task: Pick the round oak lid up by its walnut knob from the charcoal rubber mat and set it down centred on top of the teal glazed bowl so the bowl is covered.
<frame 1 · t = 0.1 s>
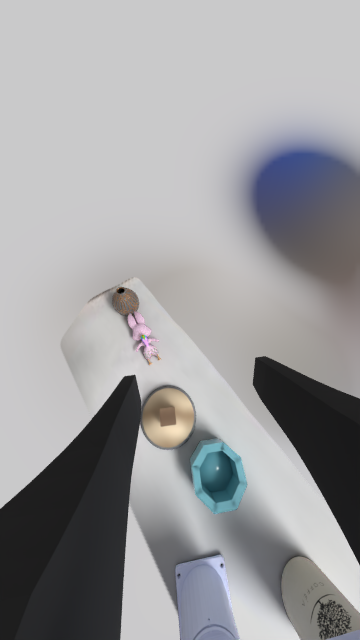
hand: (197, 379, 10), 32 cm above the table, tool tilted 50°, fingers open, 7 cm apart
vase: (129, 309, 49), on the table
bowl: (213, 467, 33), on the table
rabbit figure: (144, 339, 45), on the table
mat: (168, 415, 37), on the table
travel mug: (304, 592, 26), on the table
lid: (168, 415, 36), point 1 cm above the table, touching mat
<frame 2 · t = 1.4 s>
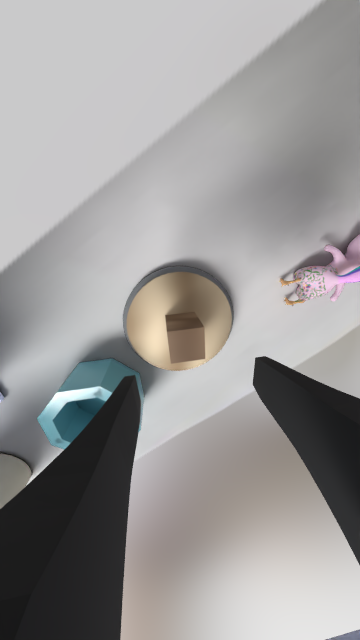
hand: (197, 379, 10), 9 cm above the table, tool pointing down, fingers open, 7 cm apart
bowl: (105, 390, 21), on the table
rabbit figure: (338, 261, 19), on the table
mat: (179, 322, 19), on the table
travel mug: (2, 467, 23), on the table
lid: (180, 324, 18), point 1 cm above the table, touching mat
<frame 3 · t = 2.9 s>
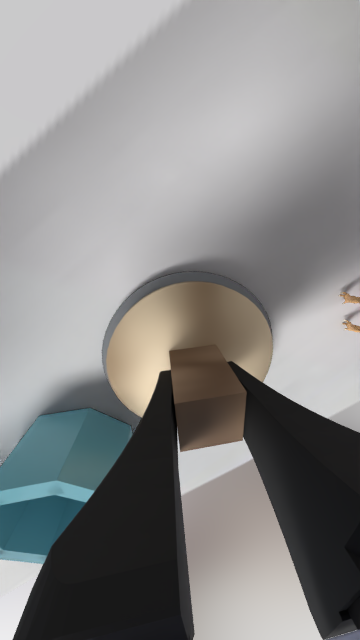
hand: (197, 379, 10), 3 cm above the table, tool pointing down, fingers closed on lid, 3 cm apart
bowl: (82, 449, 14), on the table
mat: (190, 355, 12), on the table
lid: (191, 360, 12), point 1 cm above the table, touching gripper, mat
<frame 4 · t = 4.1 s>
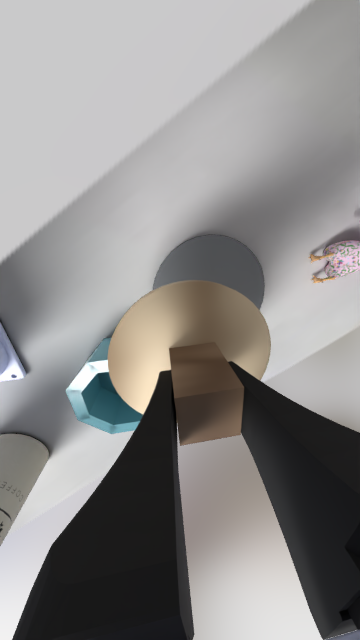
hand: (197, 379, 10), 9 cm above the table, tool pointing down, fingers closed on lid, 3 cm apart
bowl: (128, 369, 20), on the table
mat: (208, 297, 18), on the table
travel mug: (19, 449, 23), on the table
lid: (191, 357, 12), point 7 cm above the table, touching gripper
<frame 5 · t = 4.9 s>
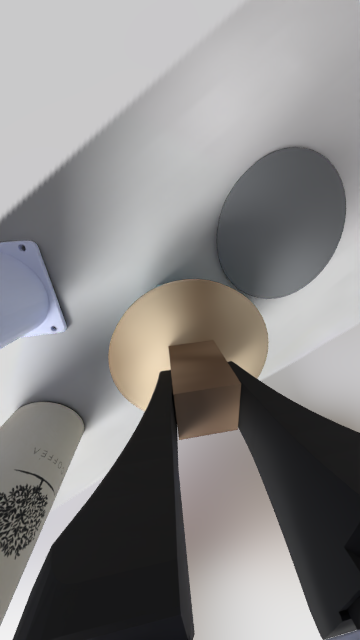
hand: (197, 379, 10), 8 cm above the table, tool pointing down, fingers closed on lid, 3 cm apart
mat: (278, 234, 16), on the table
travel mug: (51, 422, 20), on the table
lid: (190, 355, 12), point 6 cm above the table, touching gripper
when the fingers open (8 cm above the table, at t = 5.3 s): lid stays where it is, resting on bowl.
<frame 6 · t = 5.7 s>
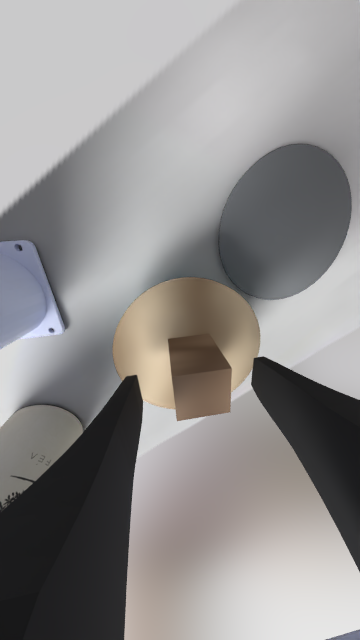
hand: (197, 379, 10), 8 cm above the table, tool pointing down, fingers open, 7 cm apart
mat: (282, 234, 15), on the table
travel mug: (49, 425, 20), on the table
lid: (188, 348, 13), point 4 cm above the table, touching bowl
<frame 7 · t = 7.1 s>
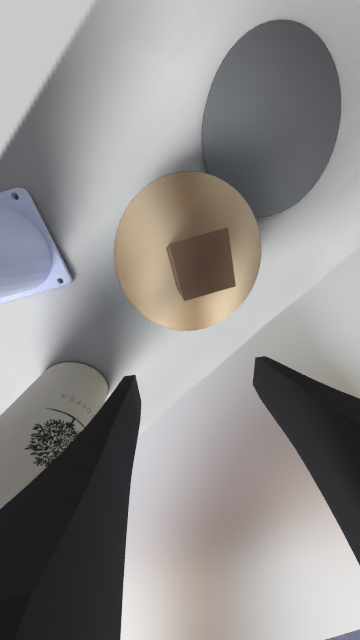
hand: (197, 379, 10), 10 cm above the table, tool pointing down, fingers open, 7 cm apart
mat: (268, 137, 14), on the table
travel mug: (76, 385, 21), on the table
lid: (189, 263, 13), point 4 cm above the table, touching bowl
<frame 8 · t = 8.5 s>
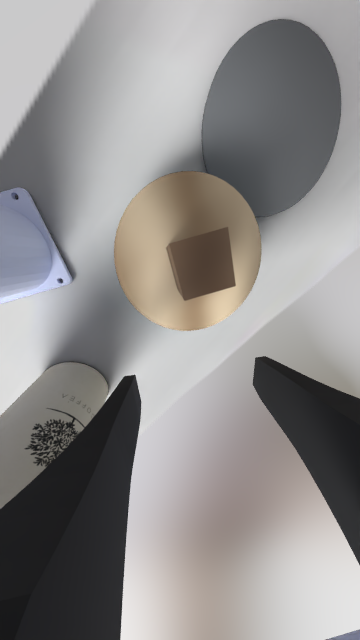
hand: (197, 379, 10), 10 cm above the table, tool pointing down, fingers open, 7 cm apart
mat: (268, 137, 14), on the table
travel mug: (76, 385, 21), on the table
lid: (189, 263, 13), point 4 cm above the table, touching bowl
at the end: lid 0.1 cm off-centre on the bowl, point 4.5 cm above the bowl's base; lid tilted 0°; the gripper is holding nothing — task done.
